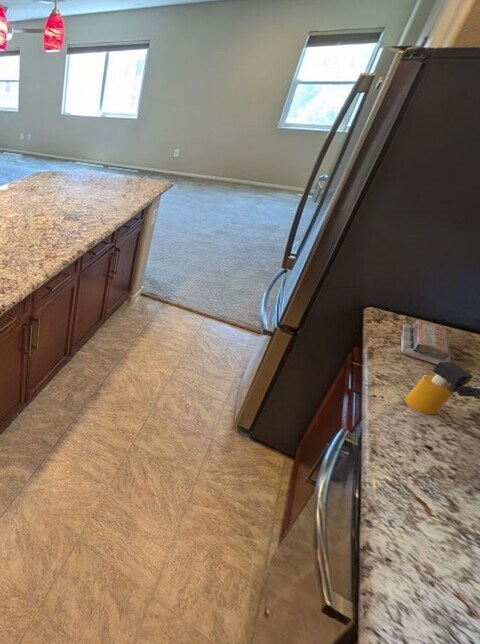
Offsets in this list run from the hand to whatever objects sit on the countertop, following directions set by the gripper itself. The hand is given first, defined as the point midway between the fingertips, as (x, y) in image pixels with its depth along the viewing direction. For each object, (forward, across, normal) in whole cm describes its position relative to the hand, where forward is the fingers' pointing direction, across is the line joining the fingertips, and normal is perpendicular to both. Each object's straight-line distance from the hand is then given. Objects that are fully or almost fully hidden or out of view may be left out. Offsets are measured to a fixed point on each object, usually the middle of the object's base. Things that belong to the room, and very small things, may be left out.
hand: (460, 391), depth 90 cm
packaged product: (+24, -24, -11) cm, 35 cm away
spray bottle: (+9, 0, +4) cm, 10 cm away
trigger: (+1, 0, 0) cm, 1 cm away
